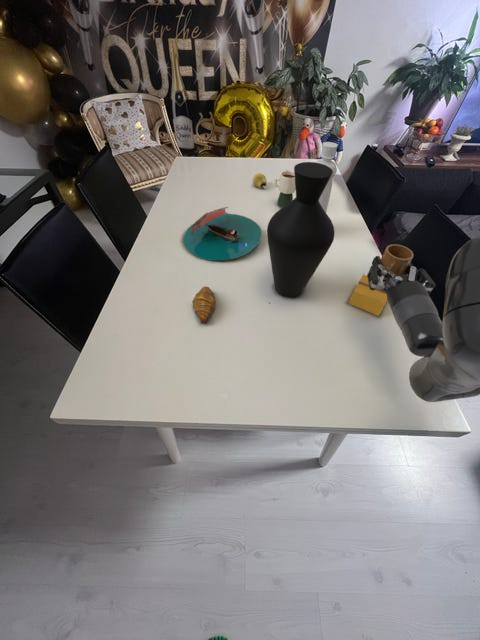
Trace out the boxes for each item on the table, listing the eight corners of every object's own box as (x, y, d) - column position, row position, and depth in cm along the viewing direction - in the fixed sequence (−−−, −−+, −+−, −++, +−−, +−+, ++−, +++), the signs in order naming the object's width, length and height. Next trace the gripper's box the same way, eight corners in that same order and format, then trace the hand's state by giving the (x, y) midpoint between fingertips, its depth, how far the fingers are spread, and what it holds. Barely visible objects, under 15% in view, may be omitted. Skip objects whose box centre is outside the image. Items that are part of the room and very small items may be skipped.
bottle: (310, 223, 117) (330, 137, 94) (326, 234, 112) (351, 147, 89) (292, 229, 113) (308, 142, 91) (308, 241, 108) (329, 152, 86)
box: (387, 298, 90) (394, 285, 86) (378, 316, 85) (386, 303, 81) (357, 286, 93) (363, 273, 89) (347, 303, 88) (353, 290, 84)
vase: (328, 291, 91) (369, 173, 65) (290, 317, 83) (319, 195, 57) (286, 263, 99) (308, 149, 73) (249, 285, 91) (257, 166, 65)
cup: (397, 282, 76) (416, 249, 69) (391, 296, 73) (410, 263, 65) (374, 273, 78) (389, 241, 71) (367, 286, 75) (383, 253, 67)
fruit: (261, 193, 132) (247, 182, 136) (270, 193, 136) (256, 182, 140) (266, 180, 129) (252, 169, 133) (275, 181, 132) (261, 170, 136)
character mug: (297, 203, 127) (303, 171, 118) (297, 211, 123) (303, 179, 113) (272, 200, 128) (275, 169, 118) (270, 208, 123) (274, 176, 114)
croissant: (194, 290, 89) (193, 278, 85) (217, 291, 89) (216, 278, 86) (190, 325, 80) (188, 312, 76) (215, 325, 80) (215, 312, 77)
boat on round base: (215, 210, 121) (212, 183, 112) (275, 230, 110) (276, 201, 101) (168, 247, 107) (160, 219, 98) (232, 274, 96) (229, 245, 87)
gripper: (458, 297, 59) (426, 248, 70) (385, 293, 59) (365, 244, 70) (437, 322, 64) (411, 273, 75) (371, 319, 64) (355, 269, 76)
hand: (389, 259), depth 73 cm, fingers closed on cup, 6 cm apart
